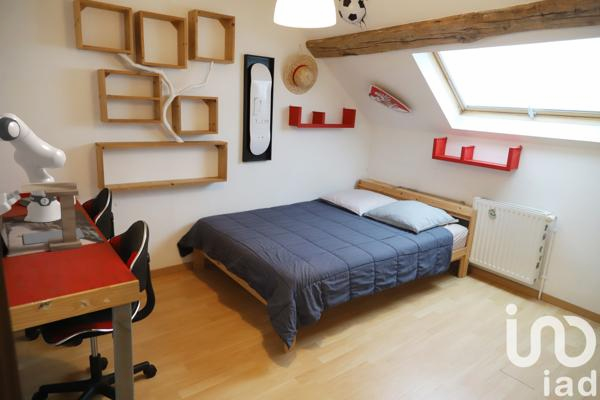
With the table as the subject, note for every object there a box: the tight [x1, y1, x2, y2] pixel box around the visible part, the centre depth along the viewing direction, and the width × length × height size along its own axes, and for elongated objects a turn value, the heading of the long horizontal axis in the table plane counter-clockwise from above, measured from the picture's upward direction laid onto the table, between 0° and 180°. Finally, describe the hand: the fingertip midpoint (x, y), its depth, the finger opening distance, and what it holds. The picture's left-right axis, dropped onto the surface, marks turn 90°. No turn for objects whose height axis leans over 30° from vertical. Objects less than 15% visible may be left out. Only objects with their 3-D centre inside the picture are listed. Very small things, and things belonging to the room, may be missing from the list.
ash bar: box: [21, 180, 78, 193], centre depth 177 cm, size 3×20×3 cm, turn 125°
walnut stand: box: [44, 189, 83, 252], centre depth 183 cm, size 12×12×26 cm
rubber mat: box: [22, 227, 85, 246], centre depth 196 cm, size 16×24×1 cm, turn 125°
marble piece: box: [19, 196, 31, 208], centre depth 248 cm, size 17×15×4 cm
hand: (19, 193), depth 172 cm, fingers open, 8 cm apart
